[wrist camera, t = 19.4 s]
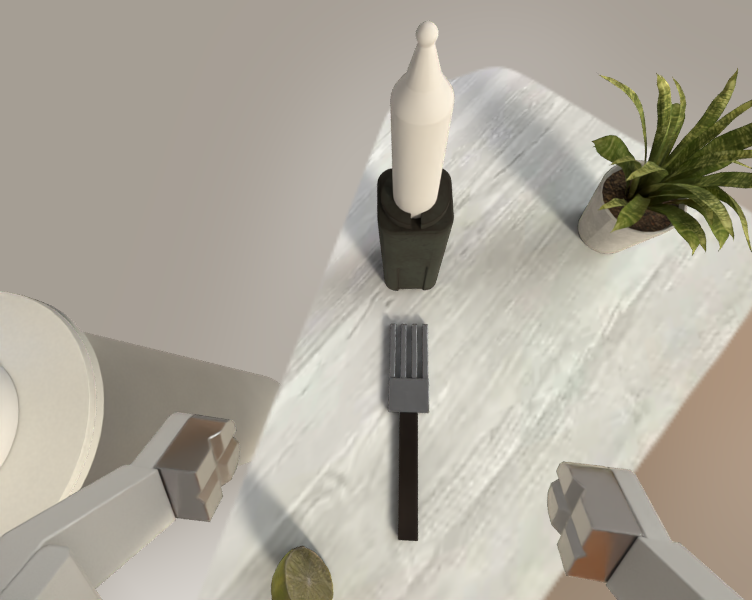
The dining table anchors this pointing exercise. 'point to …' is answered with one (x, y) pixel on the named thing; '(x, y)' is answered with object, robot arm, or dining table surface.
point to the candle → (417, 172)
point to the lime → (301, 577)
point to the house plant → (669, 177)
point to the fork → (408, 425)
